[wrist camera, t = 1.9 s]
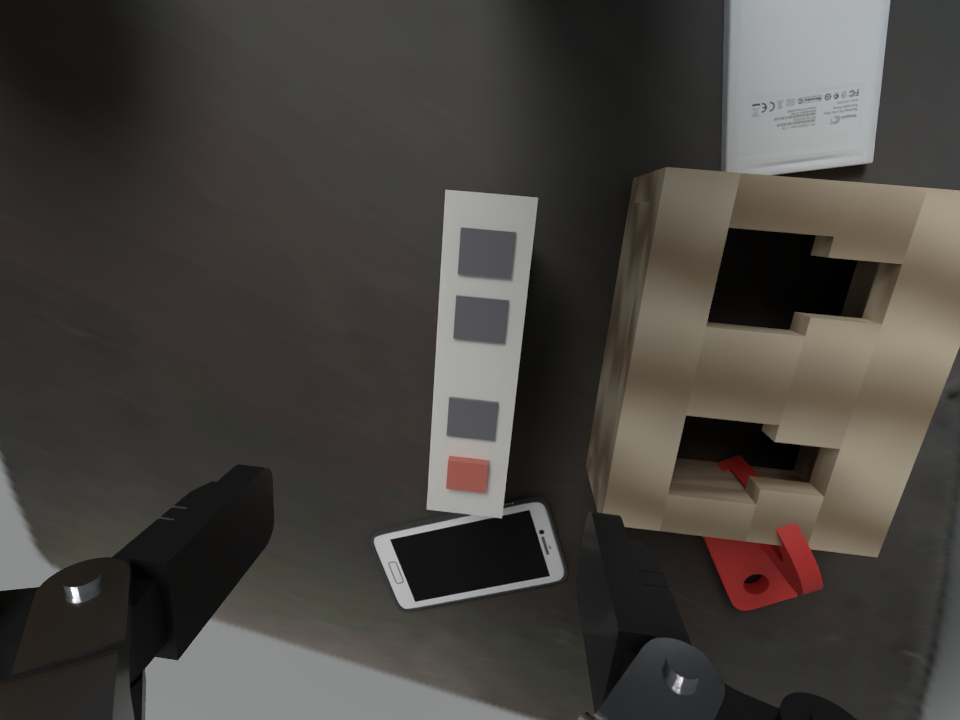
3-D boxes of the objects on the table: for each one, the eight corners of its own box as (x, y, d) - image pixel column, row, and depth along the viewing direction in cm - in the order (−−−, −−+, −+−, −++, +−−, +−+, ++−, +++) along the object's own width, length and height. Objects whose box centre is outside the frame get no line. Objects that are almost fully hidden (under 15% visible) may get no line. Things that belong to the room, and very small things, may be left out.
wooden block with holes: (633, 178, 30) (666, 167, 23) (903, 200, 29) (1018, 195, 22) (585, 466, 35) (600, 523, 29) (808, 491, 35) (877, 557, 28)
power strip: (466, 197, 29) (443, 189, 20) (533, 202, 29) (538, 197, 20) (449, 438, 34) (424, 514, 25) (506, 444, 33) (501, 524, 25)
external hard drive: (881, -83, 26) (858, 165, 29) (720, -55, 27) (716, 182, 30) (904, -103, 24) (877, 162, 27) (733, -73, 25) (727, 180, 28)
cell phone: (369, 529, 39) (365, 536, 38) (545, 490, 37) (546, 497, 36) (400, 604, 41) (398, 613, 40) (570, 572, 39) (571, 581, 38)
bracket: (677, 476, 35) (720, 548, 27) (739, 454, 34) (801, 521, 26) (730, 602, 38) (782, 699, 30) (789, 585, 37) (859, 680, 29)
